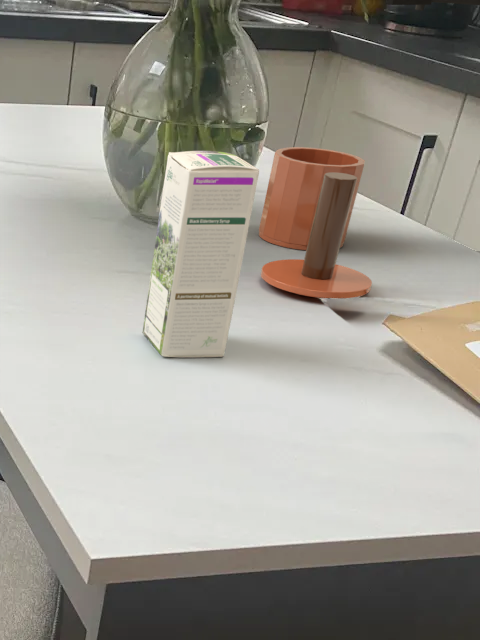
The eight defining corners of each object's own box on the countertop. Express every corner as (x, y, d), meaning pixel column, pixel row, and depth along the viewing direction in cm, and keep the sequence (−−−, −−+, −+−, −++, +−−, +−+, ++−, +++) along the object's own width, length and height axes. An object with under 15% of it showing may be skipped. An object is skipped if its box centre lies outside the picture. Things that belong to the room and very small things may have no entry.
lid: (247, 269, 109) (269, 160, 103) (348, 273, 110) (376, 166, 104) (275, 302, 101) (301, 186, 95) (384, 307, 101) (417, 192, 95)
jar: (249, 225, 123) (265, 145, 118) (328, 229, 124) (348, 149, 119) (271, 249, 116) (289, 164, 111) (355, 252, 116) (377, 168, 111)
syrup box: (226, 358, 88) (265, 167, 79) (158, 358, 87) (190, 165, 78) (203, 333, 93) (238, 150, 84) (138, 333, 92) (166, 148, 83)
